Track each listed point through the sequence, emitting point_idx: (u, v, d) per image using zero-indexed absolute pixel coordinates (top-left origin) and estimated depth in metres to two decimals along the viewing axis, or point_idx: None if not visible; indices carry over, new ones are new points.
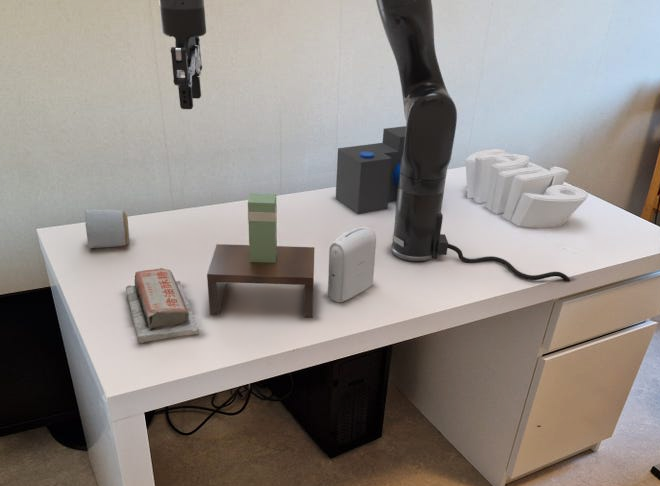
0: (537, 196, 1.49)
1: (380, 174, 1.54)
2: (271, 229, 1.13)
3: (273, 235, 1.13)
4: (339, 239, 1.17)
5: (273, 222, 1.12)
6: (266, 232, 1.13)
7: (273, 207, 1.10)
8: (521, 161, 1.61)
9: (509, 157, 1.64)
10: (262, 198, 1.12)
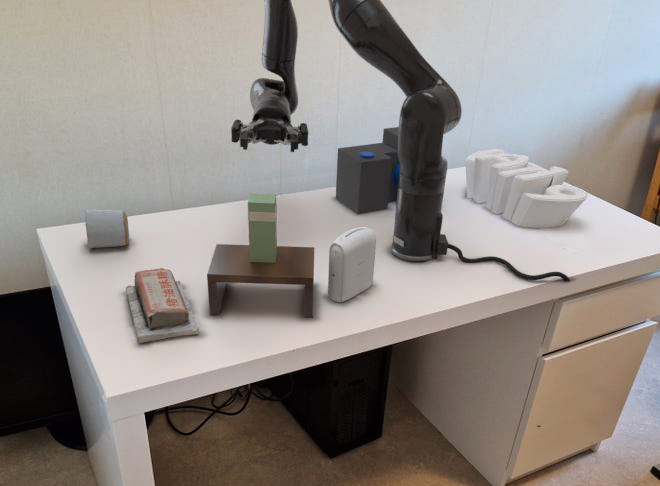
0: (537, 196, 1.49)
1: (380, 174, 1.54)
2: (271, 229, 1.13)
3: (273, 235, 1.13)
4: (339, 239, 1.17)
5: (273, 222, 1.12)
6: (266, 232, 1.13)
7: (273, 207, 1.10)
8: (521, 161, 1.61)
9: (509, 157, 1.64)
10: (262, 198, 1.12)
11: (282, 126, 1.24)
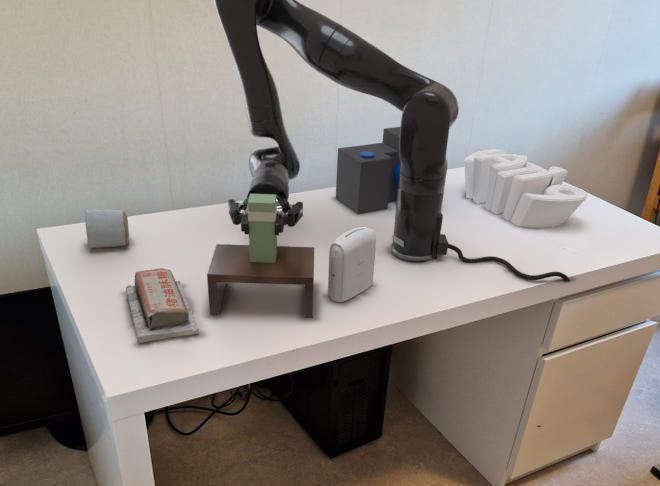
0: (537, 196, 1.49)
1: (380, 174, 1.54)
2: (271, 229, 1.13)
3: (273, 235, 1.13)
4: (339, 239, 1.17)
5: (273, 222, 1.12)
6: (266, 232, 1.13)
7: (273, 207, 1.10)
8: (520, 161, 1.61)
9: (508, 157, 1.64)
10: (262, 198, 1.12)
11: None
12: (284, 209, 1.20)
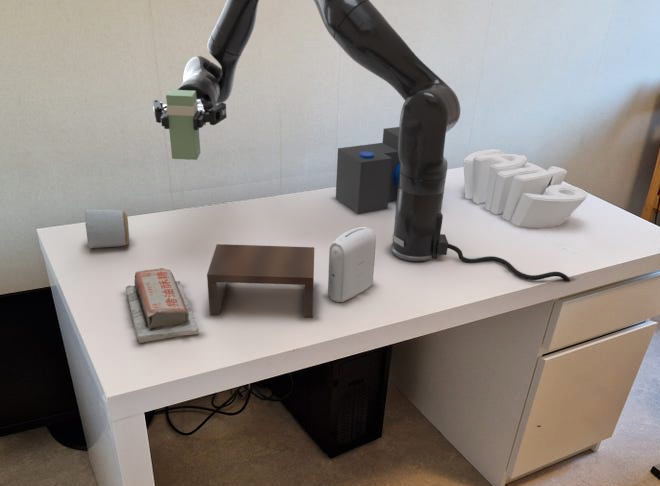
0: (537, 196, 1.49)
1: (380, 174, 1.54)
2: (190, 124, 1.16)
3: (193, 130, 1.17)
4: (339, 239, 1.17)
5: (192, 116, 1.15)
6: (186, 126, 1.16)
7: (191, 100, 1.14)
8: (519, 161, 1.61)
9: (507, 157, 1.64)
10: (181, 92, 1.15)
11: None
12: (208, 111, 1.23)
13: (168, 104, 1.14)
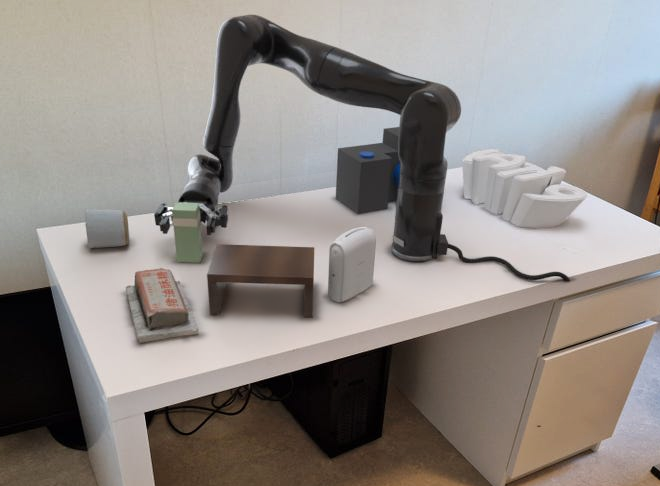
0: (537, 196, 1.49)
1: (380, 174, 1.54)
2: (193, 233, 1.29)
3: (196, 238, 1.29)
4: (339, 239, 1.17)
5: (195, 227, 1.28)
6: (190, 235, 1.29)
7: (194, 214, 1.27)
8: (518, 161, 1.61)
9: (506, 157, 1.64)
10: (185, 206, 1.28)
11: (202, 210, 1.33)
12: None
13: (174, 217, 1.27)
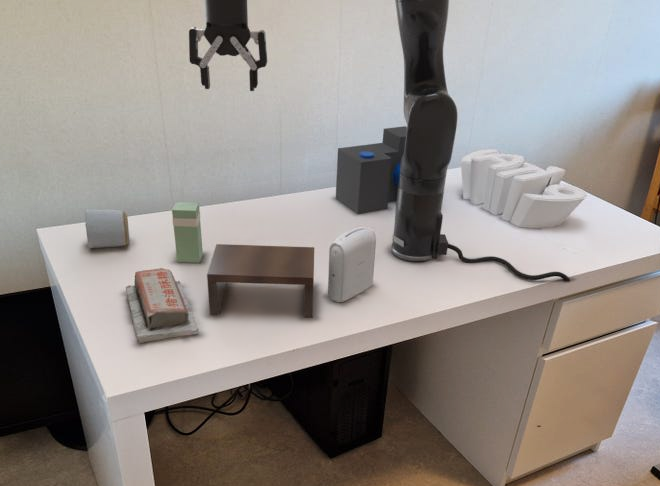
0: (537, 196, 1.49)
1: (380, 174, 1.54)
2: (193, 233, 1.29)
3: (196, 238, 1.30)
4: (339, 239, 1.17)
5: (195, 227, 1.28)
6: (190, 235, 1.29)
7: (194, 214, 1.27)
8: (517, 161, 1.61)
9: (505, 158, 1.64)
10: (185, 206, 1.28)
11: (239, 53, 1.22)
12: None
13: (174, 217, 1.27)
